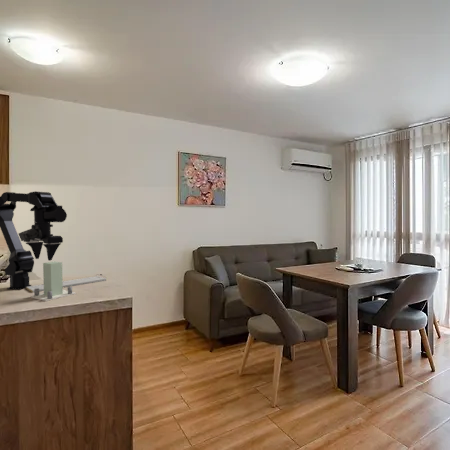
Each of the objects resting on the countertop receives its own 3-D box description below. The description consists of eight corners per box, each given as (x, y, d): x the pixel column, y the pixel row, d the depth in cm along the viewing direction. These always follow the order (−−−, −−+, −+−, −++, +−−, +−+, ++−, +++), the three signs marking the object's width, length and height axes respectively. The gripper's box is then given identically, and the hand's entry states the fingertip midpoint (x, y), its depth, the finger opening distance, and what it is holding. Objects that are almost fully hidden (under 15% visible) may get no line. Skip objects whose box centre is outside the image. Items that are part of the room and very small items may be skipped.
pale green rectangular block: (43, 294, 118) (43, 263, 118) (55, 292, 122) (54, 261, 122) (51, 296, 116) (50, 264, 115) (62, 293, 120) (62, 262, 119)
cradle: (30, 297, 116) (30, 289, 116) (60, 290, 127) (60, 283, 127) (45, 301, 111) (45, 293, 111) (75, 293, 122) (75, 286, 122)
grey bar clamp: (24, 289, 132) (32, 294, 123) (24, 282, 132) (32, 287, 123) (95, 278, 154) (106, 281, 146) (95, 272, 154) (106, 275, 146)
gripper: (9, 222, 123) (10, 260, 124) (34, 223, 114) (35, 264, 115) (37, 221, 133) (38, 257, 133) (63, 222, 124) (64, 260, 124)
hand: (43, 259), depth 126 cm, fingers open, 9 cm apart
